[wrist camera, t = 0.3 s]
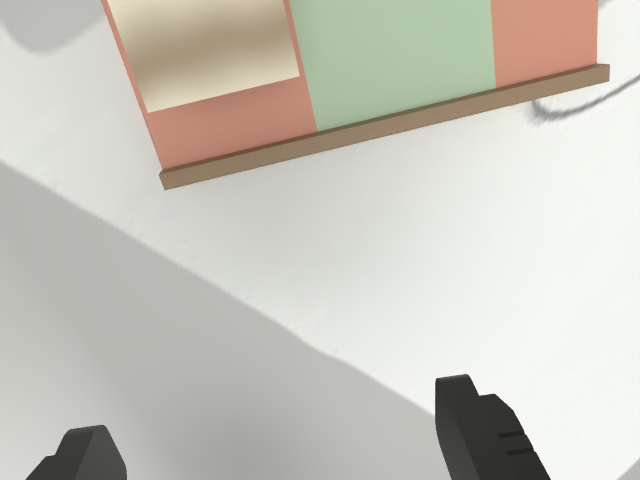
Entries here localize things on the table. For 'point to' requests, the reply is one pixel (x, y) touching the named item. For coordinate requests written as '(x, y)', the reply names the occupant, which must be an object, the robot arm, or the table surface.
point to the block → (203, 47)
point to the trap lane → (379, 78)
